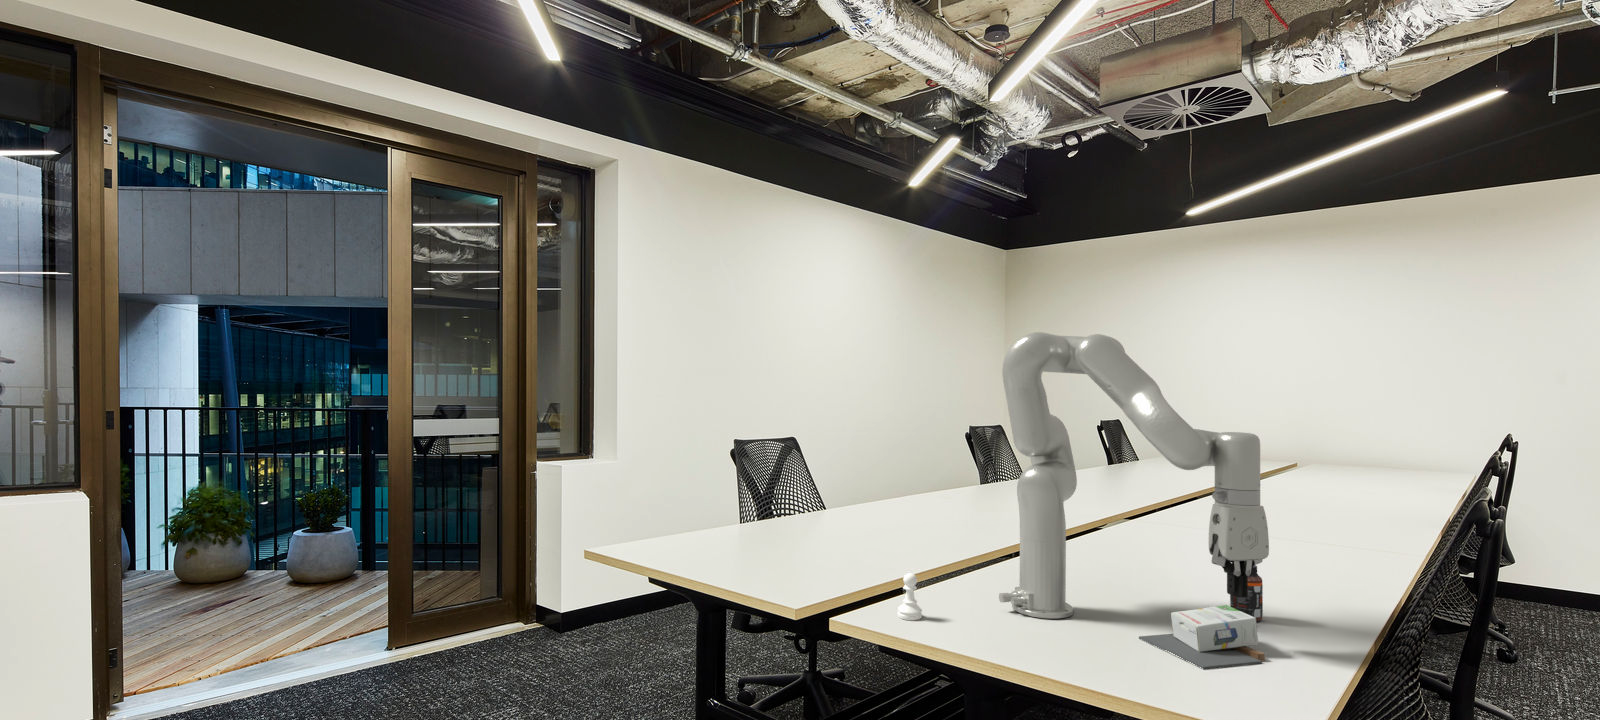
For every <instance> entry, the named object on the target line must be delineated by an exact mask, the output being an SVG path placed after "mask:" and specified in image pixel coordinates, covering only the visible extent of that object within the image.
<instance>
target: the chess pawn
mask: <svg viewBox="0 0 1600 720" xmlns="http://www.w3.org/2000/svg"><path fill="white" fill-rule="evenodd" d="M917 578H918V577H917V576H916V574H914V573H911V572H909V573H906V574H905V575H904V576H903V578H902V579H903V584H904V586H903V587H902V588H903V590H905V591H906V592H905V598H904V599H903V600H902V602H903V603H902V604H900V605H899V606H898V608H897V618H899V619H901V620H905V621H918V620H921V619H922V618H923V613H922V611H923V609H922V608H921V607H920V606H919V604H918V600H917V599H915V592H914V591H917V589H918V587H917V586H916V585H917V582H918V579H917Z"/></svg>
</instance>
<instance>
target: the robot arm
mask: <svg viewBox="0 0 1600 720" xmlns="http://www.w3.org/2000/svg"><path fill="white" fill-rule="evenodd" d="M1001 369H1002V371H1001V372H1002V373H1001V374H1002V382H1003V388H1004V392H1005V398H1006V404H1007V410H1008V416H1009V422H1010V428H1011V434H1012V438H1013V444H1014V447H1015V448H1016V449H1017V450H1018V453H1020V454H1022V455H1024V456H1025V457H1029V458H1030V463H1031V465H1030V466H1028V467H1027V468H1025V470H1023V472H1022V473H1021V474H1020V475H1019V478H1018V479H1017V480H1018V481H1017V486H1016V495H1017V503H1018V512H1019V515H1018V516H1019V586H1014V590H1013V591H1012V592H1001V593H999V594H998V601H999V602H1000V603H1010V604H1011V608H1012V609H1013V610H1014V611H1016V612H1017V613H1019V614H1022V615H1024V616H1029V617H1033V618H1034V617H1035V618H1039V619H1049V620H1050V619H1057V620H1058V619H1064V618H1065V619H1066V618H1069V617H1071V616H1072V615H1073V614H1074V607H1073V606H1072V605H1071V604H1069V603H1067V602H1066V599H1067V595H1066V591H1067V590H1066V589H1067V586H1066V585H1067V584H1066V583H1067V582H1066V576H1067V573H1066V572H1067V568H1066V567H1067V533H1066V532H1067V527H1066V525H1067V524H1066V523H1067V522H1066V515H1065V508H1064V507H1065V506H1064V504H1065V503H1064V502H1065V501H1068V500H1070V498H1071V497H1072V496H1073V495H1074V494H1075V492H1076V489H1077V485H1078V480H1077V478H1078V477H1077V471H1076V468H1075V467H1076V465H1075V461H1074V456H1073V451H1072V446H1071V441H1070V436H1069V433H1068V430H1067V428H1066V426H1065V424H1064V423H1063V421H1062V420H1061V419H1060V418H1059V417H1057V416H1055V415H1054V414H1051V413H1050V409H1049V404H1048V397H1047V393H1046V388H1045V387H1044V383H1043V379H1042V375H1043V373H1056V374H1057V373H1059V374H1061V373H1063V374H1077V375H1087V376H1088V377H1089V378H1090V379H1091V380H1092V381H1093V382H1094V383H1095V384H1096V385H1097V386H1098V387H1099V389H1101V390H1102V391H1103V392H1104V393H1105V394H1106V395H1107V396H1108V397H1109V398H1110V399H1111V401H1113V402H1114V403H1115V404H1116V405H1117V406H1118V407H1119V408H1120V409H1121V410H1122V412H1123V413H1124V415H1125V416H1126V417H1127V418H1128V419H1129V420H1130V421H1131V423H1132V424H1133V425H1134V426H1135V427H1136V429H1137V430H1138V431H1139V432H1140V433H1141V434H1142V436H1143V437H1144V438H1145V439H1146V440H1147V442H1149V443H1150V444H1151V445H1152V446H1153V447H1154V448H1155V449H1156V450H1157V451H1158V452H1159V454H1161V456H1162V457H1164V458H1165V460H1167V461H1168V462H1169V463H1170V464H1172V465H1173V466H1174V467H1177V468H1178V469H1181V470H1185V471H1194V470H1195V471H1196V470H1197V469H1201V468H1203V467H1214V492H1212V494H1211V496H1212V499H1213V500H1214V503H1213V504H1212V506H1211V511H1210V518H1209V525H1208V551H1209V554H1210V555H1211V556H1212V557H1211V564H1213V565H1216V566H1219V567H1220V566H1221V568H1222V569H1223V572H1224V573H1226V593H1227V595H1229V596H1230V595H1233V596H1236V597H1239V598H1242V597H1247V596H1248V576H1249V575H1250V574H1251V569H1252V568H1253V566H1254V565H1256V566H1258V565H1260V564H1261V563H1263V560H1265V559H1267V558H1268V557H1269V556H1270V555H1269V554H1270V543H1269V541H1270V540H1269V529H1268V520H1267V516H1266V515H1267V514H1266V511H1265V508H1264V505H1261V440H1260V438H1259V436H1258V435H1256V434H1254V433H1251V432H1240V431H1239V432H1238V431H1237V432H1235V431H1223V432H1215V431H1209V430H1204V429H1196V428H1193V427H1192V425H1190V424H1189V423H1188V422H1187V421H1186V420H1185V419H1183V417H1182V416H1181V415H1180V414H1179V413H1178V412H1176V410H1175V409H1174V408H1173V407H1172V406H1171V405H1170V404H1169V402H1168V401H1167V400H1166V399H1165V396H1164V395H1163V394H1162V390H1161V388H1160V386H1159V385H1158V383H1157V382H1156V380H1154V379H1153V378H1152V377H1151V376H1150V375H1149V373H1147V372H1146V371H1145V370H1144V369H1142V367H1140V366H1139V365H1138V363H1136V362H1135V361H1134V359H1132V358H1131V357H1130V356H1129V355H1128V354H1127V352H1126V350H1125V348H1124V346H1123V344H1122V343H1121V342H1120V341H1119V340H1117V339H1116V338H1114V337H1111V336H1109V335H1104V334H1101V333H1100V334H1099V333H1097V334H1091V335H1088V336H1074V335H1073V336H1072V335H1058V334H1057V335H1055V334H1052V333H1047V332H1040V331H1038V332H1031V333H1028V334H1025V335H1023V336H1022V337H1020V338H1019V339H1016V341H1015V342H1014V343H1013V344H1012V345H1011V346H1010V348H1009V349H1008V350H1007V352H1006V354H1005V357H1004V358H1003V363H1002V368H1001Z"/></svg>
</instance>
